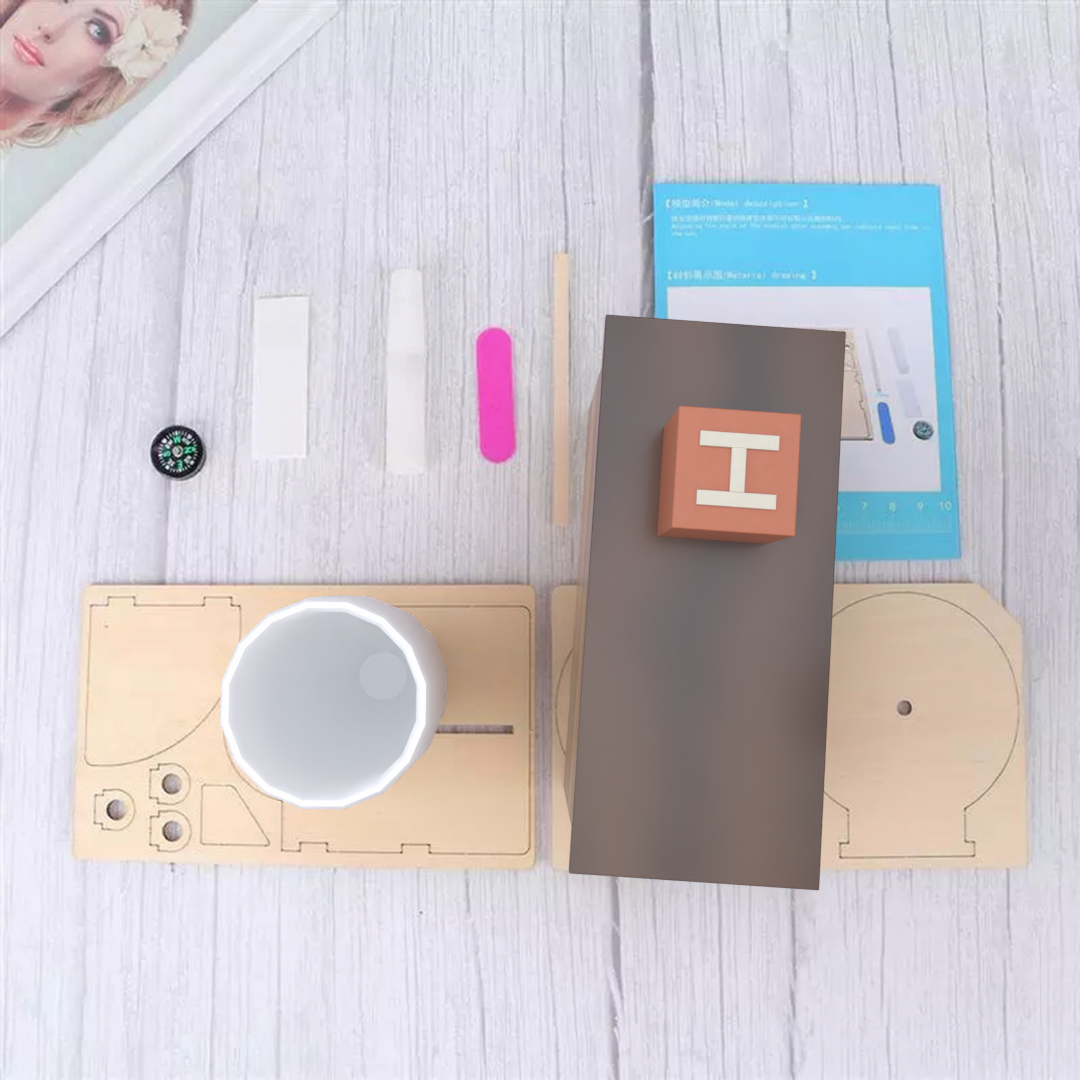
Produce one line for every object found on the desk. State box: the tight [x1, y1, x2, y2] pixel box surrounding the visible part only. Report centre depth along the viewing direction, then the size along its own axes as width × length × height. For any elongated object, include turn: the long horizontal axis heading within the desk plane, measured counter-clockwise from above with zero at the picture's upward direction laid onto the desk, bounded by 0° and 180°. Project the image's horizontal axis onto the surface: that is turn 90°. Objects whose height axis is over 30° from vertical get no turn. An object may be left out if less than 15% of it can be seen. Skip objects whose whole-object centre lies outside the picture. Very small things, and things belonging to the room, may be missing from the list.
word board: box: [568, 314, 847, 891], centre depth 43 cm, size 11×25×1 cm, turn 176°
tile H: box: [657, 406, 801, 544], centre depth 41 cm, size 5×5×5 cm
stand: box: [562, 366, 602, 825], centre depth 55 cm, size 10×25×22 cm, turn 176°
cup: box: [219, 594, 448, 810], centre depth 54 cm, size 10×10×22 cm
